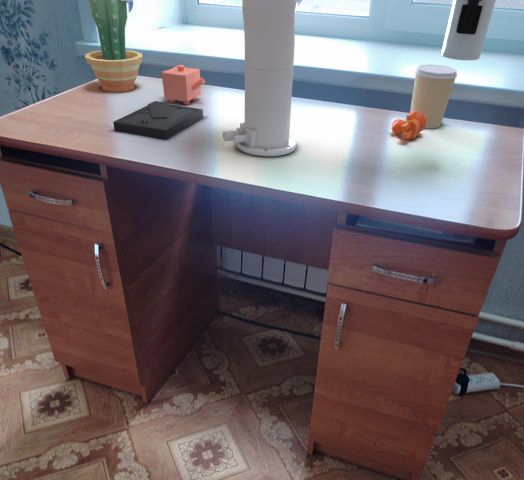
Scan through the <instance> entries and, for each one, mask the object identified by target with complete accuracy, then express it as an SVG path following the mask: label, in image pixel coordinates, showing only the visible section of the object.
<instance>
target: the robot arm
mask: <svg viewBox="0 0 524 480" xmlns="http://www.w3.org/2000/svg"><path fill="white" fill-rule="evenodd" d="M482 2H483V0H465V3H464V4H463V5H462V9H461V13H460V17H459V21H458V26H457V30H456V32H457V33H460V34H471V35H474V34H475V33H476V30H477V26H478V23H479V19H480V15H481V11H482V8H483V6H481V5H482ZM302 3H303V0H241V6H242V7H241V8H242V20H243V32H244V35H243V37H244V122H240V123H239V127H237V128H236V129H235V130H231V129H230V130H224V131H222V139H223V141H224V142H228V141H233V142H234V144H236V146H237V148H238V149H239V150H241V151H242V152H243V153H245V154H249V155H253V156H260V157H280V156H284V155H289V154H290V153H292V152H294V151H295V150H296V148H297V141H296V140H295V138H293V136H290V128H291V116H292V115H291V114H292V97H293V82H294V81H293V80H294V64H295V63H294V62H295V44H296V42H295V41H296V13H297V11H298V10H299V8H300V7H301V5H302ZM478 3H479V4H478ZM467 4H468V5H467Z"/></svg>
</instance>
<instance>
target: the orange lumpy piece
mask: <svg viewBox="0 0 524 480" xmlns="http://www.w3.org/2000/svg"><path fill="white" fill-rule="evenodd" d="M426 122H427V118H426V116H425V115H424V114H423V113H421V112H417V110H416V111H412V112H410V111H409V113H408V114H407V115H406V121H405V120H404V119H400V118H399V119H395V120H393V122H392V123H391V127H390V128H391V132H392V133H393V134H394V135H395V136H401V138H402V140H414V139H415V138H416V137H418V136H419V134H420V133H421V132H423V131H424V130H425V129H426V128H425V125H426Z"/></svg>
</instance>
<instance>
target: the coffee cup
mask: <svg viewBox="0 0 524 480" xmlns="http://www.w3.org/2000/svg"><path fill="white" fill-rule="evenodd" d="M457 76H458V73H457V69H456V68H454V67H451V66H448V65H441V64H421V65H418V66H417V68H416V69H415V77H414V84H413V89H412V96H411V103H410V111H409V113H410V112H412V111H416V110H417V112H421V113H423V114H424V115H425V116H426V118H427V122H426V125H425V129H436V128H439V127H441V125H442V122H443V119H444V116H445V113H446V110H447V107H448V104H449V101H450V98H451V94H452V91H453V88H454V86H455V85H454V84H455V81H456V78H457Z"/></svg>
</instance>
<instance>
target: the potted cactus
mask: <svg viewBox="0 0 524 480" xmlns="http://www.w3.org/2000/svg"><path fill="white" fill-rule="evenodd" d="M88 2H89V6H90V7H89V8H90V12H91V17H92V19H93V21H94V23H95V25H96V28H97V33H98V40H99V45H100V50H93V51H90V52H87V53H85V54H84V58H85V61H86V63H87V65H89V66H90V67H91V70H92V72H93V73H94V76H95V77H96V79H97V80H98V81H99V82H100V84H101V85H102V86H101V87H102V88H101V89H102V90H103V91H106V92H113V93H116V92H117V93H118V92H119V93H120V92H128V91H132V90H134V89H135V88H136V87H135V82H136V80H137V77H138V76H139V72H140V65H141V64H142V63H143V53H142V52H139V51H136V50H131V49H129V50H128V49H126V25H127V21H128V13H131V12H132V11H133V8H134V0H88ZM127 4H128V5H127ZM127 6H128V7H127Z"/></svg>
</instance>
